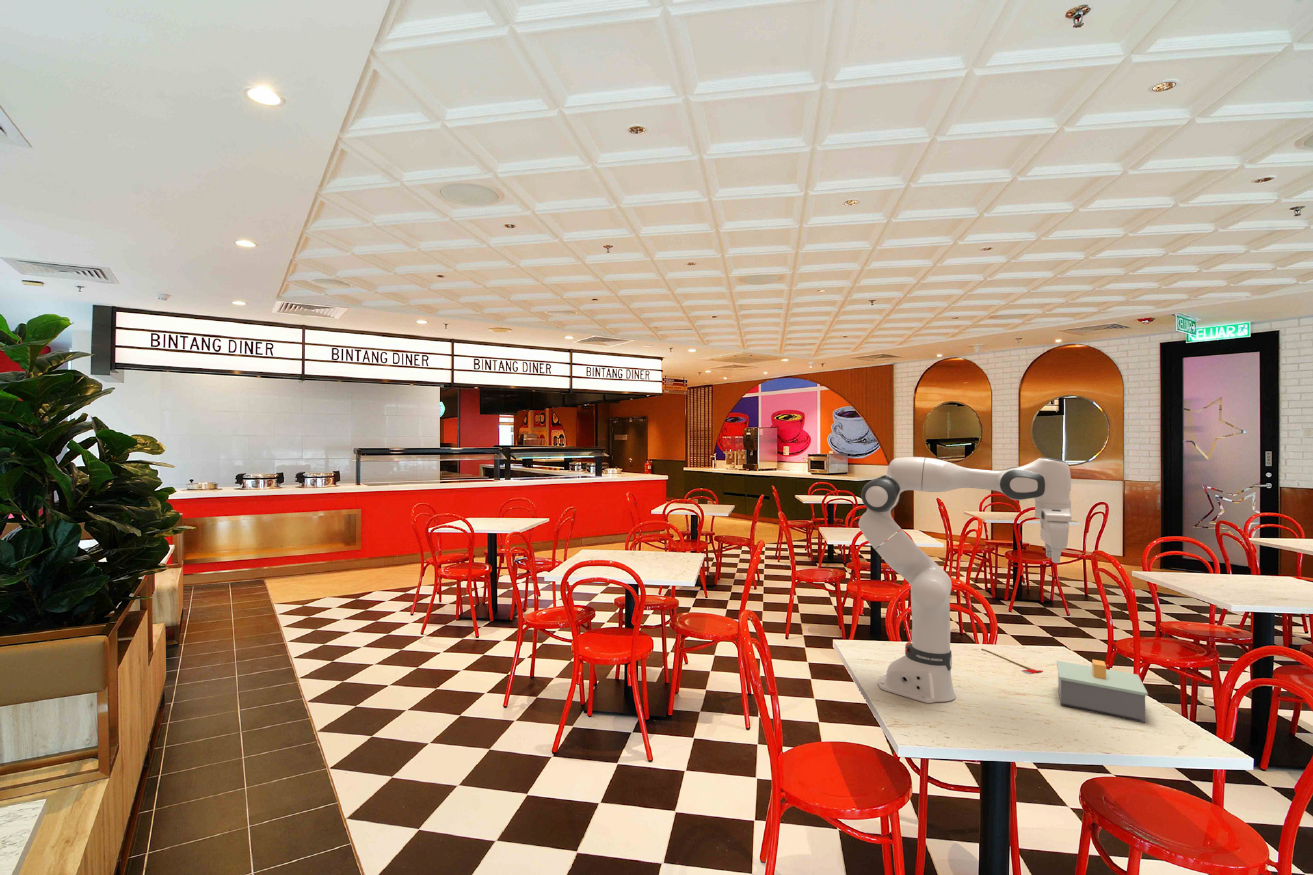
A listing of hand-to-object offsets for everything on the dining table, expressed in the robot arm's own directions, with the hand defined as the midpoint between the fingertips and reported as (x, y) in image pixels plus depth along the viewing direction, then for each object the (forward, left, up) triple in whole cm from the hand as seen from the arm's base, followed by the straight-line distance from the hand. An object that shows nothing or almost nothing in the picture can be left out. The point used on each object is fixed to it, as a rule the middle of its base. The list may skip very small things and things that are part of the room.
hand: (1052, 559), depth 173 cm
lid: (+13, +19, -39) cm, 46 cm away
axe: (-10, +48, -47) cm, 68 cm away
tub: (+13, +19, -46) cm, 51 cm away
